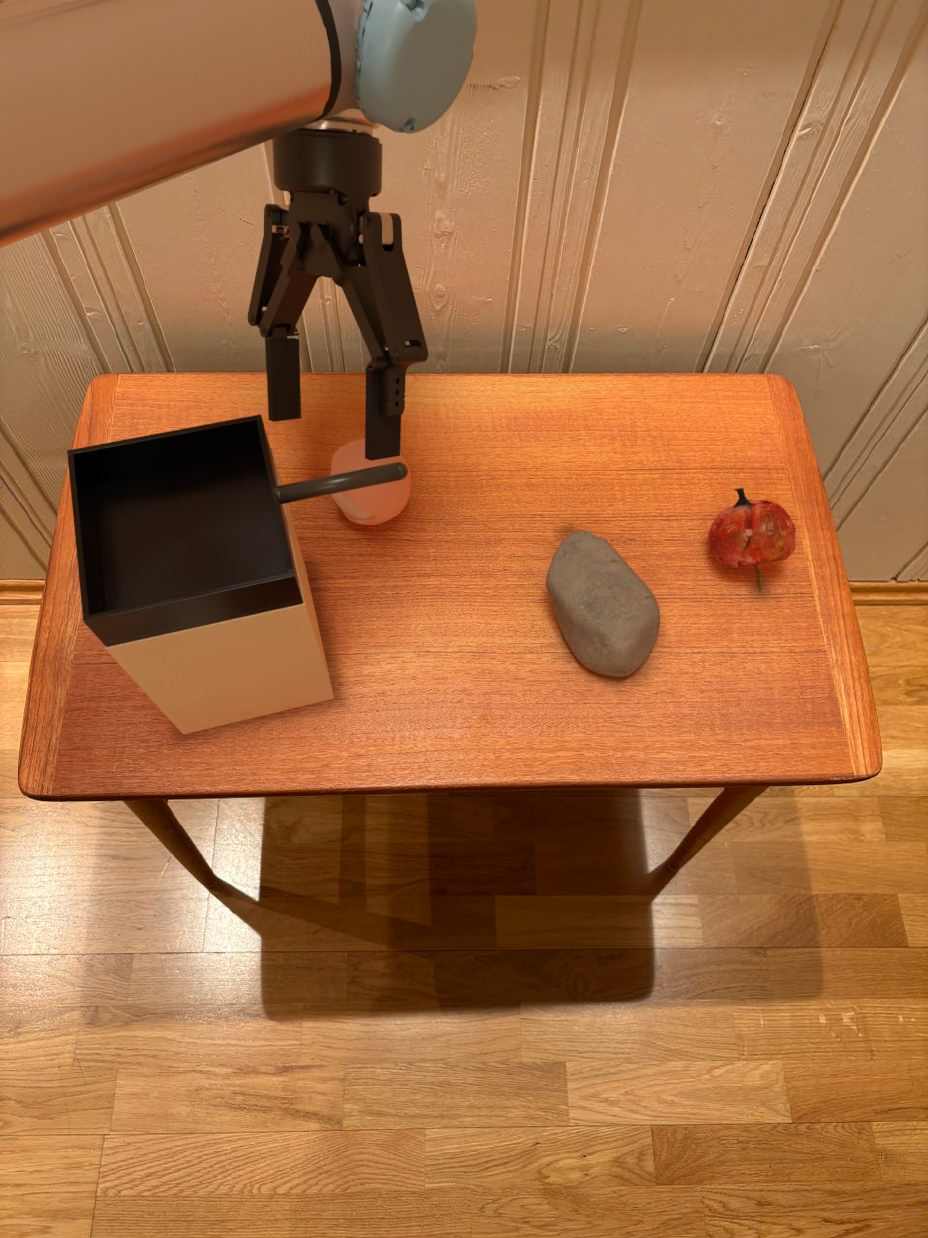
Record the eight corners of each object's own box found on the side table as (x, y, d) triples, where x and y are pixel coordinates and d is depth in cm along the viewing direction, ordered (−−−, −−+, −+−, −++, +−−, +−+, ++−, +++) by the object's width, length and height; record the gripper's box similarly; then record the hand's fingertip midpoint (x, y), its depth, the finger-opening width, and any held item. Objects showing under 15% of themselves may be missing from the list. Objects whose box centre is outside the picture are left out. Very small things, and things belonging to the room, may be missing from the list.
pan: (106, 647, 54) (82, 621, 50) (89, 484, 59) (66, 449, 55) (430, 575, 57) (431, 545, 53) (388, 426, 62) (385, 389, 58)
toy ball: (323, 480, 82) (313, 430, 75) (399, 462, 84) (397, 411, 76) (343, 549, 79) (335, 504, 72) (422, 529, 80) (422, 483, 73)
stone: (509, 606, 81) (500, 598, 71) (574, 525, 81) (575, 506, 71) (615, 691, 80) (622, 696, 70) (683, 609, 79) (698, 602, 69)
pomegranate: (781, 575, 82) (769, 474, 80) (816, 590, 75) (805, 480, 73) (707, 591, 82) (693, 491, 80) (736, 608, 75) (722, 498, 73)
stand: (183, 735, 71) (104, 649, 54) (164, 600, 76) (87, 483, 59) (334, 698, 73) (305, 604, 56) (306, 570, 78) (272, 447, 61)
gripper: (493, 133, 52) (471, 468, 61) (279, 137, 68) (287, 401, 77) (397, 119, 47) (389, 484, 57) (192, 127, 63) (212, 410, 73)
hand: (330, 437), depth 67 cm, fingers open, 13 cm apart
